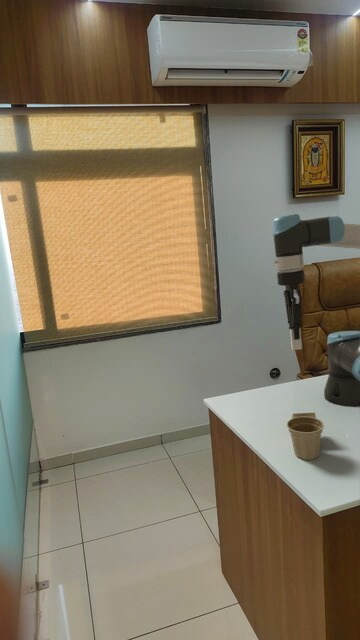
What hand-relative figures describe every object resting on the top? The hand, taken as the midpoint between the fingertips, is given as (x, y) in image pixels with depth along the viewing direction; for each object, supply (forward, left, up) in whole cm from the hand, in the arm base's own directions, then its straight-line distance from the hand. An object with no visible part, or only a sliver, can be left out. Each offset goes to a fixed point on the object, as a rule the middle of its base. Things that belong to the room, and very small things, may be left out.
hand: (296, 348), depth 123 cm
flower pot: (+2, +19, -24) cm, 30 cm away
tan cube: (+1, +9, -17) cm, 19 cm away
